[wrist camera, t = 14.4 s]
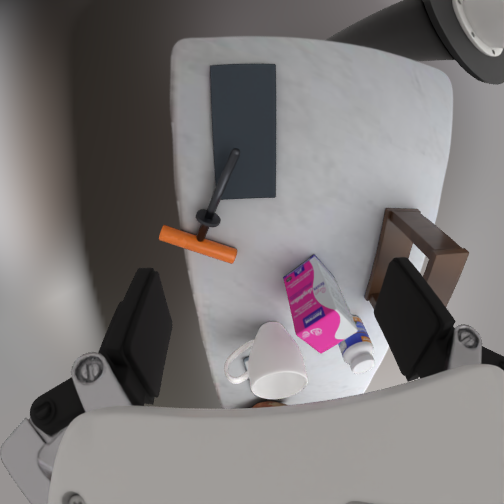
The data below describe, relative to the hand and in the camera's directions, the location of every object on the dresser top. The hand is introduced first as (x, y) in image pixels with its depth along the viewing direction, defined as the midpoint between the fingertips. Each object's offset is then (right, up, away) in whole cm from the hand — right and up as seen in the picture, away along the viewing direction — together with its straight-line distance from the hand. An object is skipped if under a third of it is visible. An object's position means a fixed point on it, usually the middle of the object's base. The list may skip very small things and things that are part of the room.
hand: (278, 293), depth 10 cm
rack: (+21, +1, +28) cm, 35 cm away
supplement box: (+7, -2, +29) cm, 30 cm away
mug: (0, -12, +34) cm, 36 cm away
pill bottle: (+16, -11, +35) cm, 41 cm away
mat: (-2, +15, +18) cm, 23 cm away
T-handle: (-3, +12, +16) cm, 21 cm away
